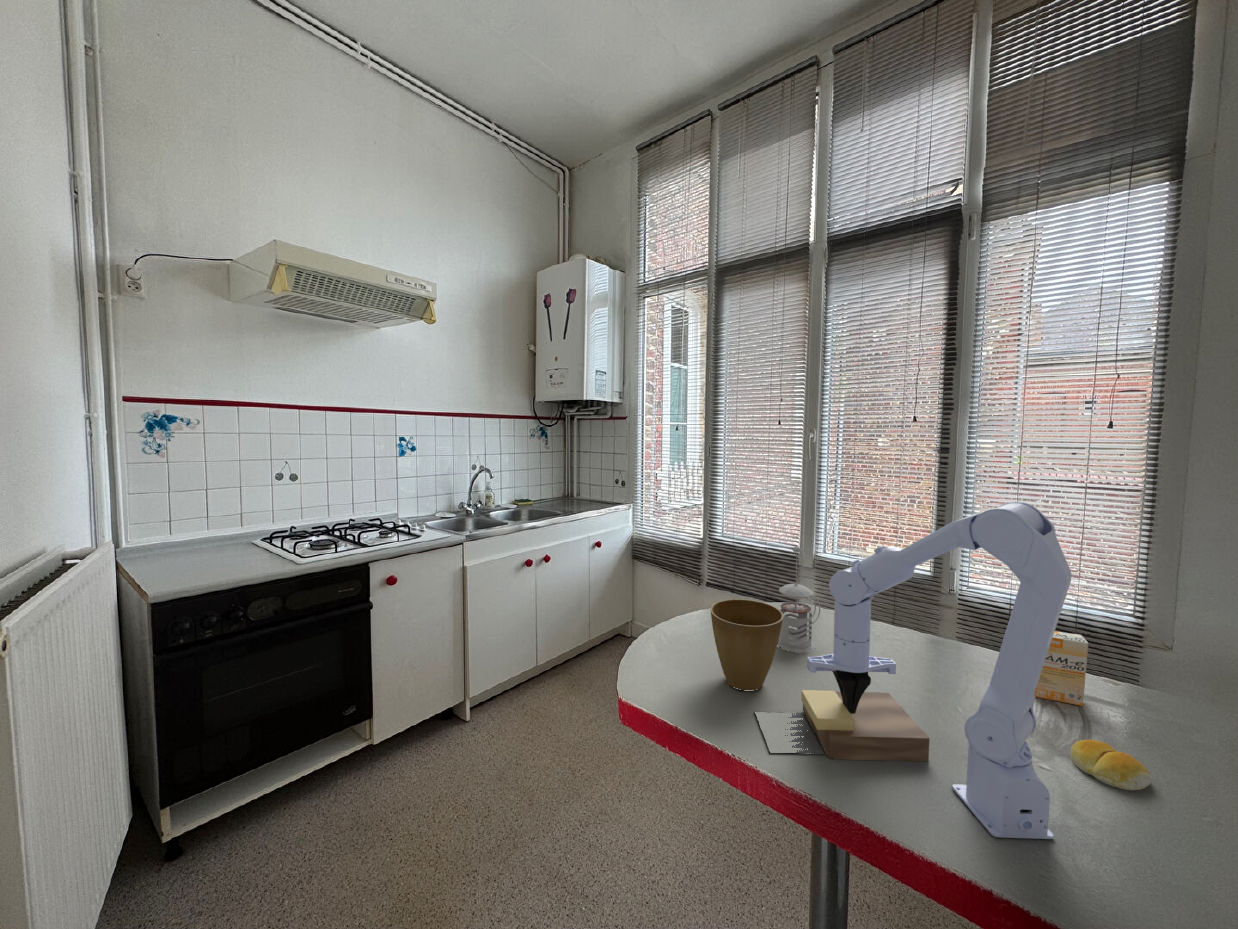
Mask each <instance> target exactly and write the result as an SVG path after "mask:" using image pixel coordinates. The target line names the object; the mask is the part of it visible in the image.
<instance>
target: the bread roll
mask: <svg viewBox="0 0 1238 929" xmlns="http://www.w3.org/2000/svg"><path fill="white" fill-rule="evenodd" d="M1070 758H1071V760H1072V762H1073V764H1074V765H1075V767H1077V768H1078V769H1079V770H1081V771H1082V772H1083V773H1085V774H1087V775H1090V776H1093V777H1094V778H1095V779H1096V780H1097V781H1099V782H1101V783H1103V784H1106V785H1109V786H1111V787H1114V788H1117V789H1121V790H1125V791H1140V790H1143V789H1146V788H1147V787H1149V786H1150V784H1151V783H1152V777H1151V776H1150V773H1149V771H1148V769H1147V768H1146V766H1144V764H1142V763H1141V762H1140V761H1139V760H1138V759H1136V757H1133V756H1132V755H1130V754H1129V753H1125V752H1122V751H1118V750H1116V749H1115V748H1114V747H1112V746H1111V745H1110V744H1108V743H1106V742H1104V741H1100V740H1096V739H1081V740H1077V741H1075V742H1074V743H1073V744H1072V746H1071V748H1070Z"/></svg>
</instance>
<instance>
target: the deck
mask: <svg viewBox="0 0 1238 929" xmlns="http://www.w3.org/2000/svg"><path fill="white" fill-rule="evenodd" d="M835 692H836V694H837V695H838V696H839V698H840V699H841V701H842V702H843V700H842V696H841V692H840V691H835ZM803 711H804V712H803ZM802 712H803V714H804V713H805V714H804V715H806V716H805V717H807V718H808V720H809V721H808V720H807V721H808V723H809V722H810V723H809V725H810V724H811V725H810V727H811V726H812V727H811V729H812V728H813V729H812V731H813V732H814V731H815V732H814V734H815V733H816V734H815V736H816V735H817V736H816V737H818V738H817V739H819V740H818V742H819V743H820V742H821V743H820V745H821V744H822V745H821V747H822V746H823V747H822V749H823V748H824V749H825V751H826V752H825V751H824V752H825V754H826V753H827V754H826V756H827V755H828V756H827V757H829V758H828V760H852V761H853V760H855V761H856V760H857V761H858V760H859V761H861V760H862V761H898V762H899V761H900V762H901V761H902V762H930V761H929V760H930V759H929V757H930V737H929V736H928V735H927V734H926V733H925V731H924V730H923V729H922V728H921V727H920V726H919V725H918V724H917V723H916V721H915V720H914V719H913V718H912V717H911V716H910V715H909V714H908V713H907V711H906V710H905V709H904V708H903V707H902V706H901V705H900V704H899V703H898V702H897V701H896V699H895V698H894V697H893V696H892V695H891V694H890V693H889V692H879V691H877V692H874V691H873V692H872V691H871V692H869V691H868V692H866V691H864V693H863V695H862V696H861V698H860V701H859V703H858V706H857V709H856V713H855V714H851V716H852V717H853V719H854V731H848V730H817V728H816V727H815V725H814V723H813V721H812V719H811V717H810V715H809V714H808V712H807V710H806V708H805V706H804V704H803V703H802ZM807 718H806V719H807ZM824 749H823V750H824ZM830 758H831V759H830ZM832 758H833V759H832Z"/></svg>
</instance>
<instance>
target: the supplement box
mask: <svg viewBox="0 0 1238 929" xmlns="http://www.w3.org/2000/svg"><path fill="white" fill-rule="evenodd" d="M1088 651H1089V642H1088V641H1087V640H1086V639H1085V637H1084V636H1083V635H1082V634H1078V633H1069V632H1064V631H1057V630H1055V631H1054V634H1053V637H1052V641H1051V644H1050V647H1049V650H1048V653H1047V656H1046V659H1045V662H1044V665H1043V668H1042V671H1041V674H1040V677H1039V680H1038V683H1037V686H1036V689H1035V693H1034V695H1035V698H1039V699H1045V700H1051V701H1055V702H1061V703H1064V704H1065V703H1067V704H1070V705H1071V704H1072V705H1076V706H1079V707H1083V706H1084V698H1085V697H1084V696H1085V686H1086V685H1085V684H1086V677H1087V676H1086V675H1087V674H1086V673H1087V663H1088V653H1089V652H1088Z"/></svg>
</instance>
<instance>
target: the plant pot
mask: <svg viewBox="0 0 1238 929" xmlns="http://www.w3.org/2000/svg"><path fill="white" fill-rule="evenodd" d="M783 615H784V614H783V613H782V612H781V611H780V609H779V608H777V607H776V606H774V605H772V604H769V603H766V602H762V601H758V600H753V599H744V598H741V599H740V598H739V599H738V598H733V599H732V598H731V599H724V600H720V601H717V602H715V603H713V604H712V605H711V606H710V616H711V617H710V618H711V624H712V630H713V638H714V642H715V647H716V651H717V655H718V659H719V663H720V666H721V669H722V672H723V675H724V677H725V678H724V679H725V681H726V683H727V682H728V683H727V684H728V685H729V687H731V686H732V687H735V688H738V689H741V690H756V689H759V688H760V687H761V688H762V687H763V685H764V683H765V681H766V678H767V677H768V674H769V671H770V669H771V666H772V663H773V661H774V657H775V654H776V651H777V648H778V647H777V645H778V641H779V636H780V632H781V627H782V621H783ZM732 687H731V688H732ZM761 688H760V689H761ZM760 689H759V690H760Z"/></svg>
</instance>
